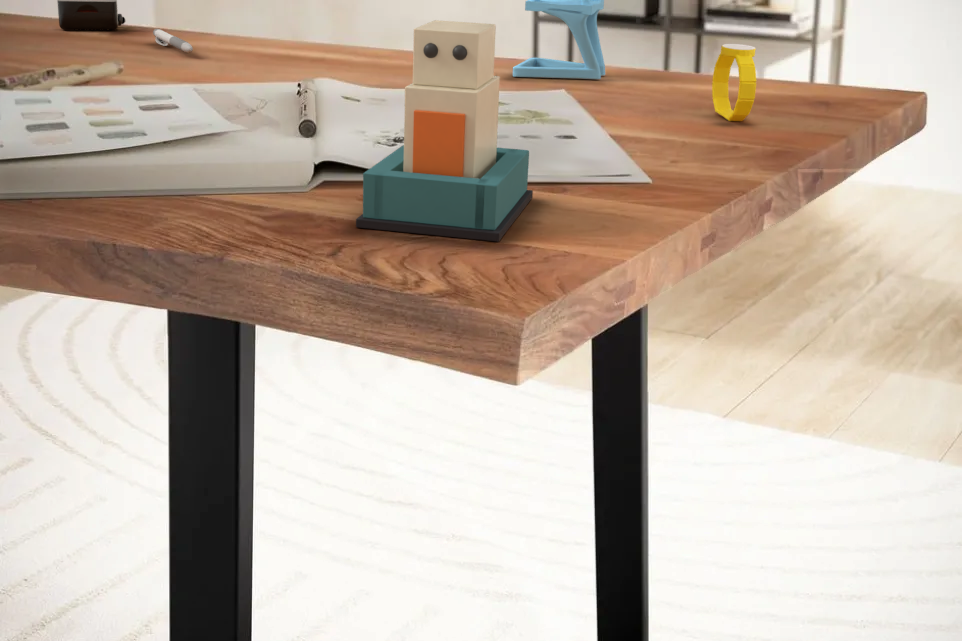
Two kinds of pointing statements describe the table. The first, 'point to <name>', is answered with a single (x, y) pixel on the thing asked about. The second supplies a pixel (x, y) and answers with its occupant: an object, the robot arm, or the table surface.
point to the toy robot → (452, 100)
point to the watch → (746, 80)
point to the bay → (446, 198)
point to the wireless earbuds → (89, 15)
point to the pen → (171, 41)
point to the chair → (578, 10)
